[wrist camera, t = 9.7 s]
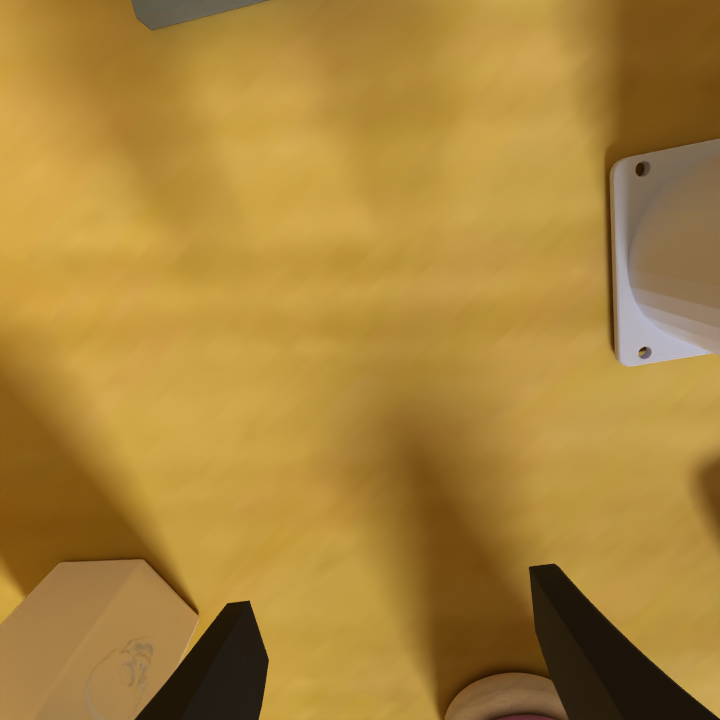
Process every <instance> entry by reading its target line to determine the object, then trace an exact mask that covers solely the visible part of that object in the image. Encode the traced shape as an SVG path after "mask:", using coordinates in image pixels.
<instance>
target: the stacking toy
mask: <svg viewBox="0 0 720 720" xmlns="http://www.w3.org/2000/svg"><path fill="white" fill-rule="evenodd" d="M444 720H569V719H568V717H567V714H566V712H565V710H564V707H563V705H562V703H561V700H560V698H559V696H558V693H557V691H556V689H555V686H554V684H553V682H552V680H550V679H548V678H544V677H541V676H538V675H533V674H527V673H502V674H497V675H492V676H489V677H486V678H483V679H480V680H478V681H476V682H474V683H472V684H470V685H469V686H467V687H466V688H464V689H463V690H462V691H461V692H460V693H459V694H458V695H457V696H456V697H455V698H454V699H453V701H452V702H451V704H450V706H449V707H448V710H447V712H446V715H445V718H444Z"/></svg>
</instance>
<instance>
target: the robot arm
mask: <svg viewBox="0 0 720 720" xmlns="http://www.w3.org/2000/svg"><path fill="white" fill-rule="evenodd" d="M638 163H642V164H643V165H644V168H645V169H644V173H643V174H642V175H641V176H640V177H639V176H638V175H637V174H636V171H635V170H636V166H637V165H638ZM610 208H611V241H612V274H613V308H614V341H615V357H616V359H617V361H618V362H620V363H621V364H623V365H625V366H636V365H642V364H648V363H654V362H661V361H667V360H673V359H679V358H686V357H692V356H698V355H704V354H711V353H715V354H718V355H720V138H719V139H714V140H709V141H705V142H700V143H695V144H690V145H685V146H680V147H675V148H670V149H665V150H660V151H656V152H651V153H646V154H641V155H636V156H631V157H626V158H623V159H621V160H618V161H617V162H616V163H615V164H614V165H613V166H612V168H611V170H610ZM642 347H646V352H645V353H644V354H643V355H642V356H638V352H639V350H640V349H641V348H642ZM529 572H530V582H531V592H532V602H533V611H534V621H535V631H536V634H537V637H538V640H539V643H540V647H541V650H542V653H543V656H544V659H545V662H546V665H547V668H548V671H549V674H550V677H551V679H552V682H553V684H554V686H555V689H556V691H557V693H558V696H559V698H560V700H561V703H562V705H563V707H564V710H565V712H566V714H567V717H568V719H569V720H720V719H719V718H718V717H717V716H716V715H714V714H713V713H712V712H711V711H709V710H708V709H707V708H706V707H704V706H703V705H702V704H701V703H699V702H698V701H697V700H696V699H694V698H693V697H692V696H691V695H690V694H688V693H687V692H686V691H685V690H684V689H682V688H681V687H680V686H679V685H678V684H677V683H675V682H674V681H673V680H672V679H671V678H670V677H668V676H667V675H666V674H665V673H664V672H663V671H662V670H661V669H660V668H658V667H657V666H656V665H655V664H654V663H653V662H652V661H651V660H649V659H648V658H647V657H646V656H645V655H644V654H643V653H642V652H641V651H640V650H639V649H638V648H636V647H635V646H634V645H633V644H632V643H631V642H630V641H629V640H628V639H627V638H626V637H625V636H624V635H623V634H622V633H621V632H620V631H619V630H618V629H617V628H616V627H615V626H614V625H613V624H612V623H611V622H610V621H609V620H608V619H607V618H606V617H605V616H604V615H603V614H602V613H601V612H600V611H599V610H598V609H597V608H596V607H595V606H594V605H593V604H592V603H591V602H590V601H589V600H588V599H587V598H586V597H585V596H584V595H583V593H582V592H581V591H580V590H579V589H578V588H577V587H576V586H575V585H574V584H573V582H572V581H571V580H570V579H569V578H568V577H567V576H566V575H565V573H564V572H563V571H562V570H561V569H560V568H559V567H558V566H557V565H556V564H547V565H539V566H531V567H529ZM268 662H269V659H268V656H267V653H266V650H265V647H264V644H263V641H262V638H261V634H260V631H259V628H258V625H257V622H256V619H255V616H254V613H253V610H252V607H251V604H250V601H242V602H234V603H227V605H226V606H225V607H224V608H223V610H222V611H221V612H220V613H219V615H218V616H217V617H216V619H215V620H214V621H213V622H212V624H211V625H210V626H209V628H208V629H207V630H206V631H205V633H204V634H203V635H202V637H201V638H200V639H199V641H198V642H197V643H196V644H195V646H194V647H193V648H192V650H191V651H190V652H189V654H188V655H187V656H186V657H185V659H184V660H183V661H182V662H181V664H180V665H179V666H178V667H177V669H176V670H175V671H174V672H173V674H172V675H171V676H170V678H169V679H168V680H167V681H166V683H165V684H164V685H163V686H162V687H161V689H160V690H159V691H158V692H157V693H156V694H155V696H154V697H153V698H152V699H151V700H150V701H149V703H148V704H147V705H146V706H145V707H144V709H143V710H142V711H141V712H140V713H139V714H138V716H137V717H136V718H135V719H134V720H258V719H259V715H260V711H261V707H262V701H263V695H264V689H265V683H266V676H267V669H268Z"/></svg>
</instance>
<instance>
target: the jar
mask: <svg viewBox="0 0 720 720" xmlns="http://www.w3.org/2000/svg"><path fill="white" fill-rule="evenodd" d="M198 623H199V616H198V615H197V614H196V613H195V612H194V611H193V610H192V609H191V608H190V607H189V606H188V605H187V604H186V603H185V602H184V600H183V599H182V598H181V597H180V596H179V595H178V594H177V593H176V592H175V591H174V590H173V589H172V588H171V587H170V586H169V585H168V584H167V583H166V582H165V581H164V580H163V579H162V578H161V577H160V576H159V575H158V574H157V573H156V572H155V570H154V569H153V568H152V567H151V566H150V565H149V564H148V563H147V562H146V561H145V560H143V559H130V560H103V561H76V562H61V563H59V564H57V565H56V566H55V567H54V568H53V569H52V570H51V572H50V573H49V574H48V575H47V576H46V577H45V578H44V579H43V580H42V581H41V582H40V583H39V584H38V585H37V586H36V587H35V588H34V589H33V590H32V592H31V593H30V594H29V595H28V596H27V597H26V598H25V599H24V600H23V601H22V602H21V603H20V604H19V605H18V606H17V607H16V608H15V609H14V610H13V612H12V613H11V614H10V615H9V616H8V617H7V618H6V619H5V620H4V621H3V622H2V623H1V624H0V720H134V719H135V718H136V717H137V716H138V714H139V713H140V712H141V711H142V710H143V709H144V707H145V706H146V705H147V704H148V703H149V701H150V700H151V699H152V698H153V697H154V696H155V694H156V693H157V692H158V691H159V690H160V689H161V687H162V686H163V685H164V684H165V683H166V681H167V680H168V679H169V678H170V676H171V675H172V674H173V672H174V671H175V670H176V669H177V667H178V666H179V664H180V662H181V660H182V658H183V655H184V653H185V651H186V649H187V647H188V644H189V642H190V640H191V638H192V636H193V634H194V631H195V629H196V627H197V625H198Z"/></svg>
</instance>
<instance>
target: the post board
mask: <svg viewBox="0 0 720 720" xmlns="http://www.w3.org/2000/svg"><path fill="white" fill-rule="evenodd" d="M264 1H267V0H132V4H133V7H134V11H135V14H136V18H137V19H138V20H140V21H141V22H142V23H143V24H144V25H146V26H147V27H148V28H149V29H150V30H154V29H158V28H162V27H166V26H170V25H174V24H178V23H181V22H185V21H189V20H193V19H197V18H201V17H205V16H209V15H213V14H217V13H221V12H224V11H228V10H232V9H236V8H240V7H244V6H248V5H252V4H256V3H260V2H264Z"/></svg>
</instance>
